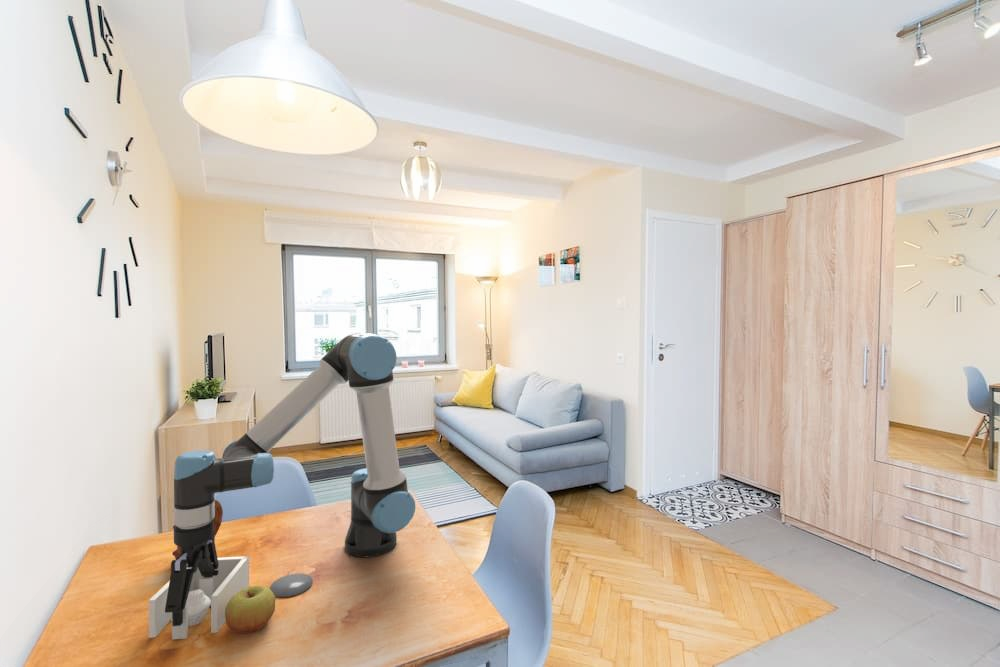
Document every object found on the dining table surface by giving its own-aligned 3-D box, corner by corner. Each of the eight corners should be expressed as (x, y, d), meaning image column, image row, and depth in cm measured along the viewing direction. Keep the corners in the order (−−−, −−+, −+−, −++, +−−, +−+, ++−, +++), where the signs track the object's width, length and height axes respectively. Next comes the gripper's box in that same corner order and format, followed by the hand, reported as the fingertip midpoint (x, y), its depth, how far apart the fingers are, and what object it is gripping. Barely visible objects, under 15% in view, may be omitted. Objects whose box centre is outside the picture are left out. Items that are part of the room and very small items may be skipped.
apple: (221, 645, 95) (221, 607, 95) (228, 618, 104) (228, 582, 104) (274, 633, 99) (274, 596, 99) (276, 607, 108) (276, 574, 107)
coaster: (316, 574, 122) (316, 572, 122) (306, 596, 112) (306, 594, 112) (277, 576, 121) (277, 574, 121) (263, 599, 111) (263, 596, 111)
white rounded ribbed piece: (190, 612, 105) (190, 582, 105) (216, 613, 105) (217, 583, 105) (170, 630, 99) (170, 598, 99) (198, 631, 99) (198, 599, 99)
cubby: (249, 587, 116) (249, 556, 116) (217, 632, 99) (217, 595, 99) (191, 591, 114) (191, 559, 114) (148, 637, 97) (148, 600, 97)
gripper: (202, 503, 113) (201, 592, 113) (143, 548, 90) (142, 659, 90) (234, 502, 114) (234, 590, 114) (184, 546, 91) (184, 656, 91)
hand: (193, 620), depth 102 cm, fingers open, 11 cm apart
